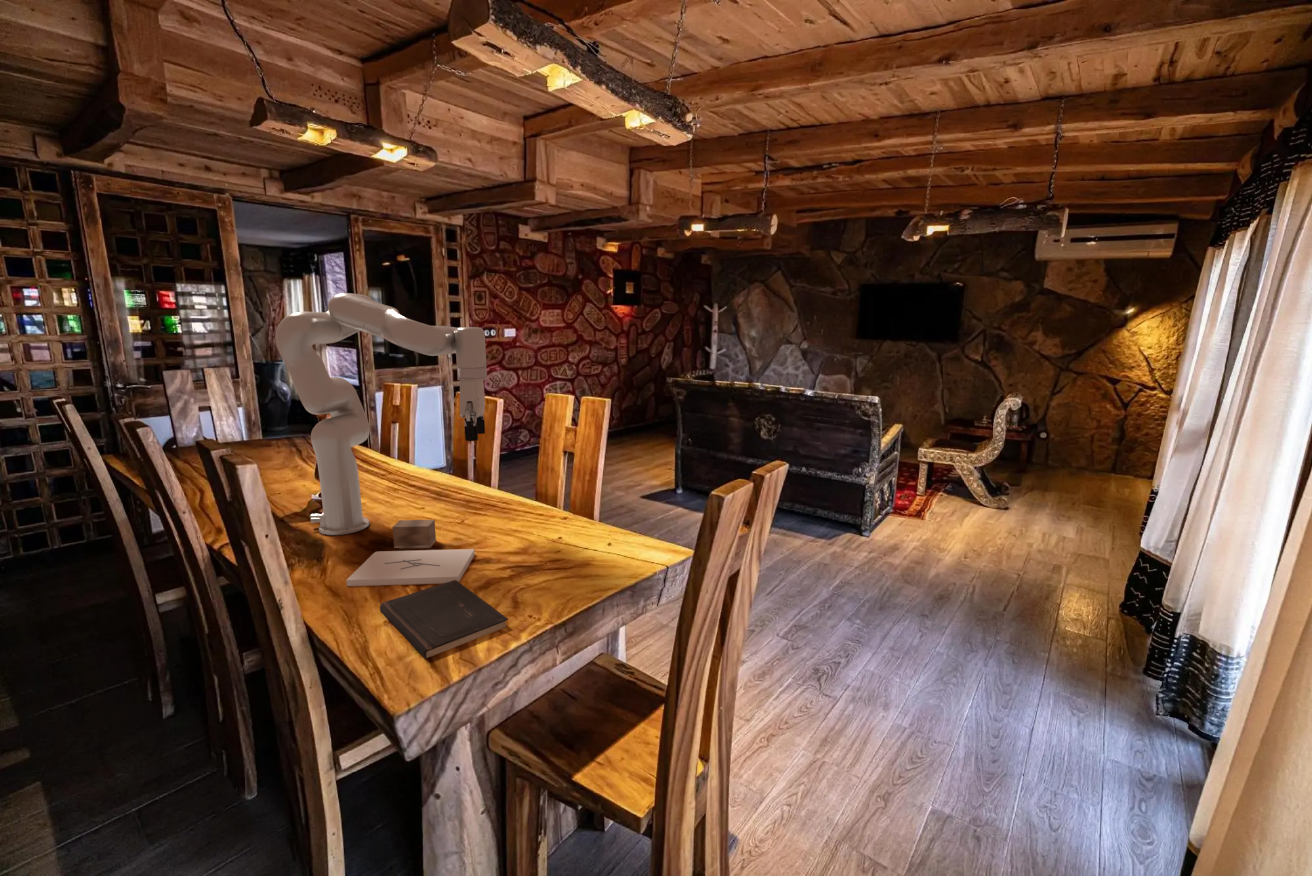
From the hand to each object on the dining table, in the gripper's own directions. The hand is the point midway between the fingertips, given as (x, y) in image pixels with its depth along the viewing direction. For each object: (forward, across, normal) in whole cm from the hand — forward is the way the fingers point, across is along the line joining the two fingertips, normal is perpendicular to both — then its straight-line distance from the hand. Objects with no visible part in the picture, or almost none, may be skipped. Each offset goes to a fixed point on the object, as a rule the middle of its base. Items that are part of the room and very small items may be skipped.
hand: (475, 437), depth 155 cm
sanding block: (+27, +9, -15) cm, 32 cm away
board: (+27, +26, -10) cm, 38 cm away
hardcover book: (+28, +50, +2) cm, 57 cm away
